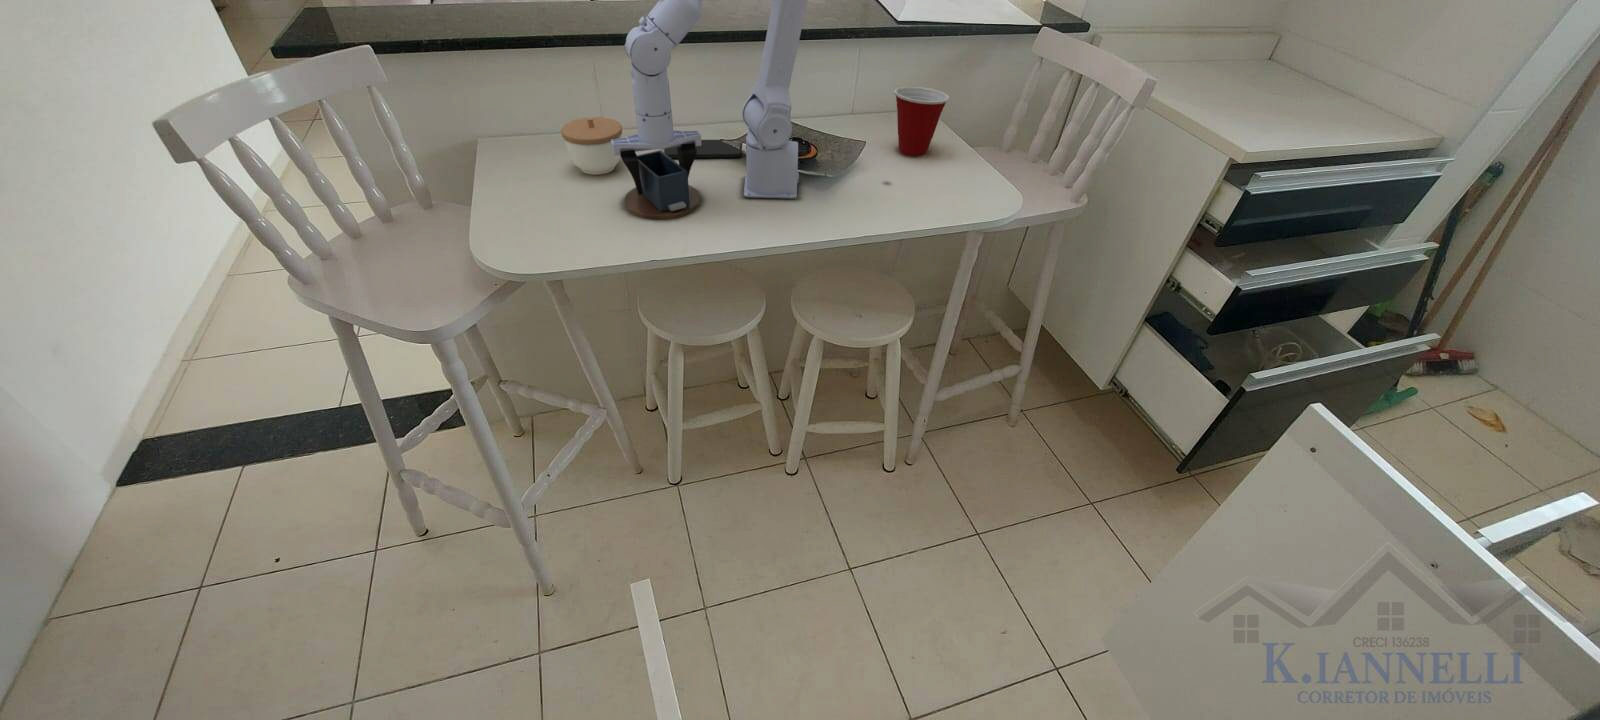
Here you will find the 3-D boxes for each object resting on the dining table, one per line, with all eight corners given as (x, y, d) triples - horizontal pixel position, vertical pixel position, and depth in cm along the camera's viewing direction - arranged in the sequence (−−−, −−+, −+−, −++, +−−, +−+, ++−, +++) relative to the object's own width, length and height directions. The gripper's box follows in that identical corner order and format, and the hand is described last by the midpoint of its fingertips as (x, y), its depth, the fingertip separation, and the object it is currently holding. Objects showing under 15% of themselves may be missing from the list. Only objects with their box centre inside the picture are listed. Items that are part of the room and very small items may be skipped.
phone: (741, 154, 131) (664, 154, 129) (741, 158, 131) (664, 158, 129) (739, 139, 136) (665, 139, 134) (739, 143, 137) (665, 143, 135)
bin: (693, 207, 113) (690, 173, 109) (664, 214, 111) (660, 181, 107) (663, 182, 120) (660, 149, 116) (636, 188, 117) (631, 156, 114)
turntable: (703, 186, 121) (703, 182, 121) (696, 220, 112) (696, 216, 111) (632, 184, 121) (631, 180, 120) (618, 218, 111) (618, 214, 111)
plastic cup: (947, 149, 139) (958, 90, 131) (926, 166, 131) (936, 105, 124) (901, 136, 143) (908, 79, 135) (877, 153, 136) (884, 93, 128)
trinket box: (613, 183, 121) (605, 133, 115) (558, 176, 122) (547, 126, 116) (636, 159, 129) (629, 111, 123) (584, 153, 130) (575, 105, 124)
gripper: (691, 97, 111) (696, 174, 120) (603, 105, 107) (615, 184, 115) (702, 112, 106) (707, 191, 115) (610, 121, 102) (622, 202, 110)
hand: (661, 189), depth 115 cm, fingers open, 7 cm apart
